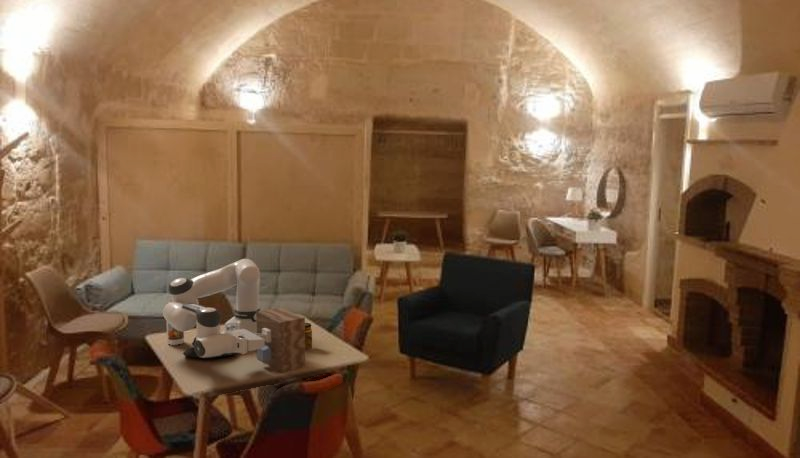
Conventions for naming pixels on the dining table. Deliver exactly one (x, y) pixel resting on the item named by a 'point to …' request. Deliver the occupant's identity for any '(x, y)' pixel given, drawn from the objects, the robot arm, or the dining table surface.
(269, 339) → the white cube
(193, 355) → the casserole
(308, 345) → the condiment
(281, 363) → the block
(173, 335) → the milk bottle
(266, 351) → the blue cube
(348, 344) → the dining table surface
